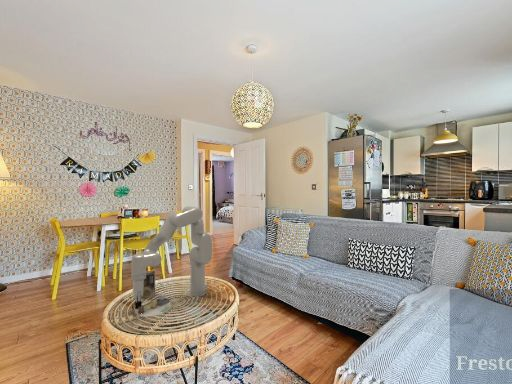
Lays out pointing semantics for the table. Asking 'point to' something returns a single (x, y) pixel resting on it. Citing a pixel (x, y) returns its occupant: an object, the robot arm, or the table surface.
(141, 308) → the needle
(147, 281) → the coffee box
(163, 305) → the dial plate
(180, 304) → the table surface
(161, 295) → the lock button
